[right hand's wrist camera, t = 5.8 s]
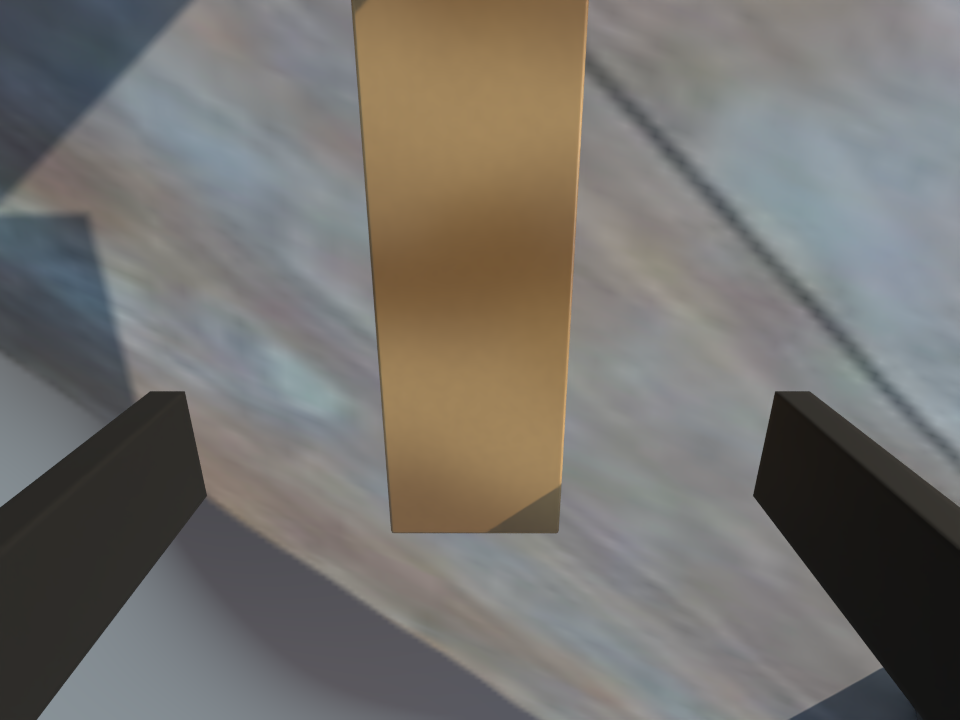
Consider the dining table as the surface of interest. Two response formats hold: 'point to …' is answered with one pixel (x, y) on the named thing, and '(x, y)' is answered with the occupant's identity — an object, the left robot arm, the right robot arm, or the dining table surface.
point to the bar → (472, 251)
